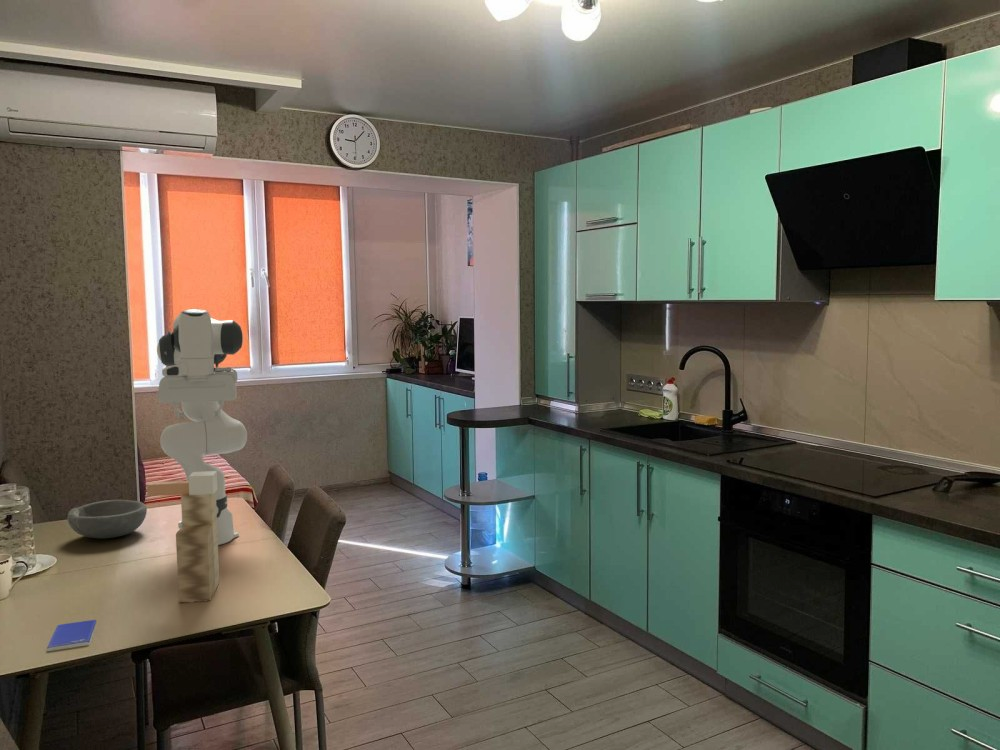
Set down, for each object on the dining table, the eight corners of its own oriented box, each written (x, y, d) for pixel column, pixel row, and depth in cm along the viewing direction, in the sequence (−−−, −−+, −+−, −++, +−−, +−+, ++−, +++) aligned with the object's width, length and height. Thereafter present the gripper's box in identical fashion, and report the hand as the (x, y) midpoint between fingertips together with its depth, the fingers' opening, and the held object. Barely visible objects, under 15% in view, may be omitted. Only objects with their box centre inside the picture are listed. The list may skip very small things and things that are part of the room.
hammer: (217, 489, 201) (216, 470, 200) (213, 494, 196) (212, 475, 195) (152, 492, 198) (151, 473, 197) (146, 497, 192) (145, 478, 192)
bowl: (115, 549, 233) (113, 518, 232) (53, 545, 237) (51, 514, 236) (162, 528, 255) (161, 499, 254) (105, 524, 259) (103, 496, 259)
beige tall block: (178, 603, 189) (174, 502, 187) (190, 584, 202) (186, 490, 200) (210, 600, 191) (206, 501, 188) (219, 582, 203) (215, 489, 201)
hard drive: (89, 640, 166) (96, 619, 177) (46, 646, 163) (56, 624, 174) (89, 647, 166) (96, 625, 177) (47, 653, 163) (57, 631, 174)
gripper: (237, 366, 212) (239, 414, 213) (159, 368, 206) (161, 418, 208) (236, 368, 206) (238, 417, 207) (155, 370, 200) (158, 421, 202)
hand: (199, 417), depth 207 cm, fingers open, 8 cm apart
